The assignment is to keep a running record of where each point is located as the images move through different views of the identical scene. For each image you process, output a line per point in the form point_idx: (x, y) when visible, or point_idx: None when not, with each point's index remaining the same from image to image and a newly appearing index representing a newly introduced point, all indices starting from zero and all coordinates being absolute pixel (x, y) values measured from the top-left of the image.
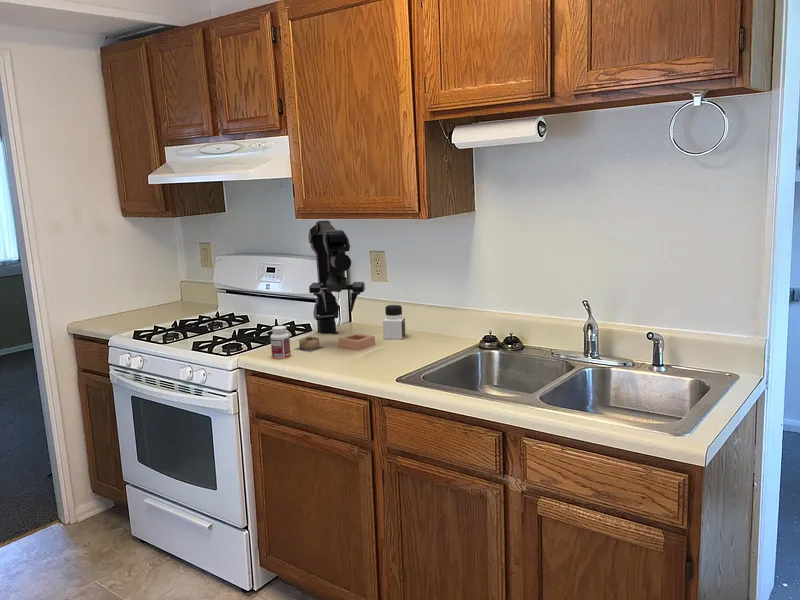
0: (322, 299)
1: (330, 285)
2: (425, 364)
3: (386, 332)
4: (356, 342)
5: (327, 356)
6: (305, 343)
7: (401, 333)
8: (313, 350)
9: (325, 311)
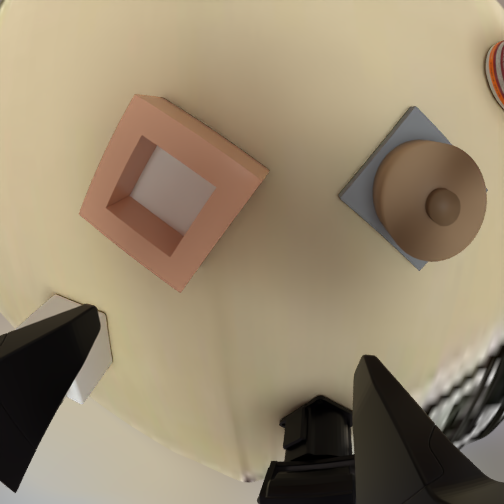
0: (432, 472)
1: None
2: (4, 6)
3: None
4: (150, 102)
5: (323, 57)
6: (456, 149)
7: (44, 304)
8: (403, 134)
9: (365, 356)
